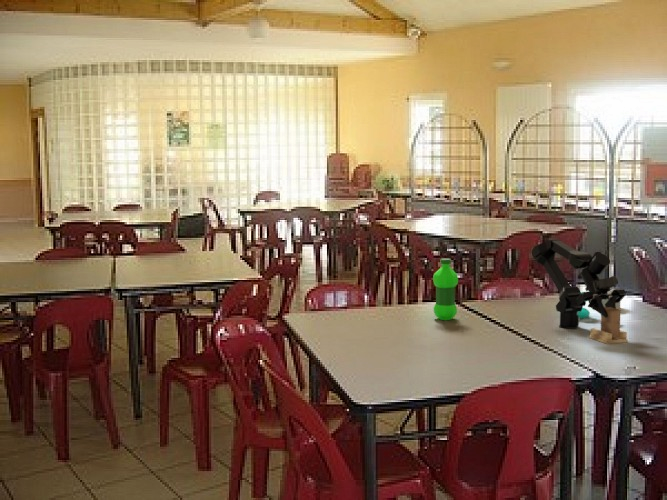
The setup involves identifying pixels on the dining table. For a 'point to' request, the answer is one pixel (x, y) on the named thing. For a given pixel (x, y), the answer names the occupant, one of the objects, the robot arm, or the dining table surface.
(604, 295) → the robot arm
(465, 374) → the dining table surface
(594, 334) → the oak base
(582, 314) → the donuts
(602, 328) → the brown cardboard box
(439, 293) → the plastic bottle
